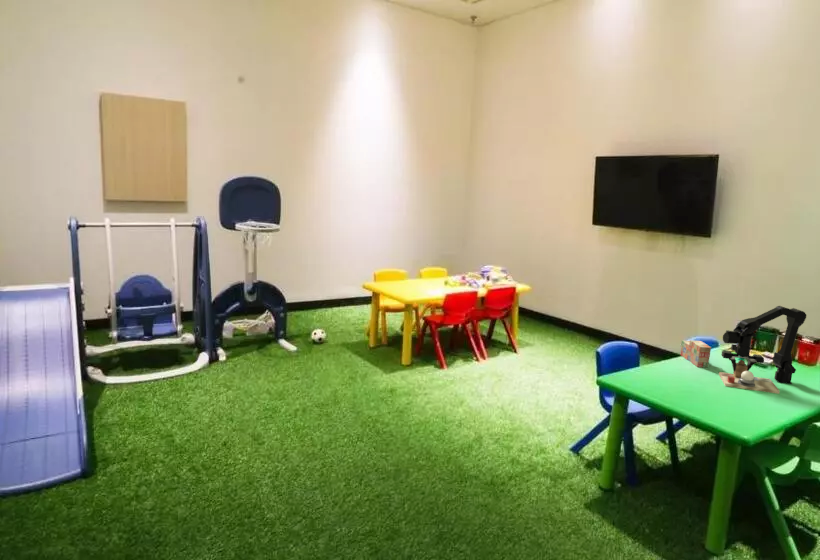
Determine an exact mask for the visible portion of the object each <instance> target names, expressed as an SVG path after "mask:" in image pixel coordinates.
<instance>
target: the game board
mask: <svg viewBox="0 0 820 560" xmlns="http://www.w3.org/2000/svg"><path fill="white" fill-rule="evenodd" d="M718 376H719V378H720V380H721V382H722V383H723V385H724V386H725V387H728V388H729V387H730V388H737V389H744V390H750V391H757V392H764V393H769V394H771V393H772V394H778V395H780V392H781V391H780V389H779V388H778V387H777V386H776V384H775V383H774V382H773V381H772V379H770V378H768V377H767V378H766V377H758V376H754V379H753V380H754V381H755V382H754V384H747V383H743V382H741V381H739V378H740V377H738V376H735V375H734V373H729V372H721V371H719V372H718Z"/></svg>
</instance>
